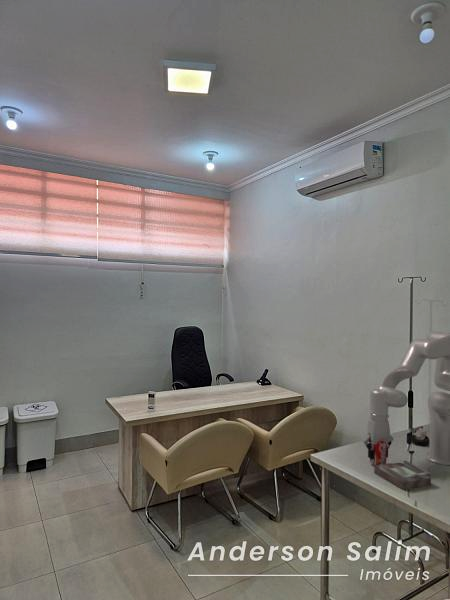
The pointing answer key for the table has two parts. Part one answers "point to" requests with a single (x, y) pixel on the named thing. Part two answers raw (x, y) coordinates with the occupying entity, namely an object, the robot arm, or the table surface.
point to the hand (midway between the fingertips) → (378, 457)
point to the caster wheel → (420, 437)
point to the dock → (404, 475)
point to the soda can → (379, 453)
